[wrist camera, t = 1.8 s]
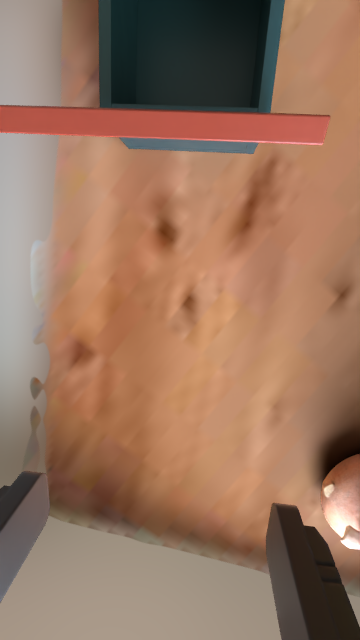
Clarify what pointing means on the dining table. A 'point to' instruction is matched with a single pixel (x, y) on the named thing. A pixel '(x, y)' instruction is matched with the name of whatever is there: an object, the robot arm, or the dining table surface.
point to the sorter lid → (165, 124)
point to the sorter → (189, 60)
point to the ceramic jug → (343, 500)
